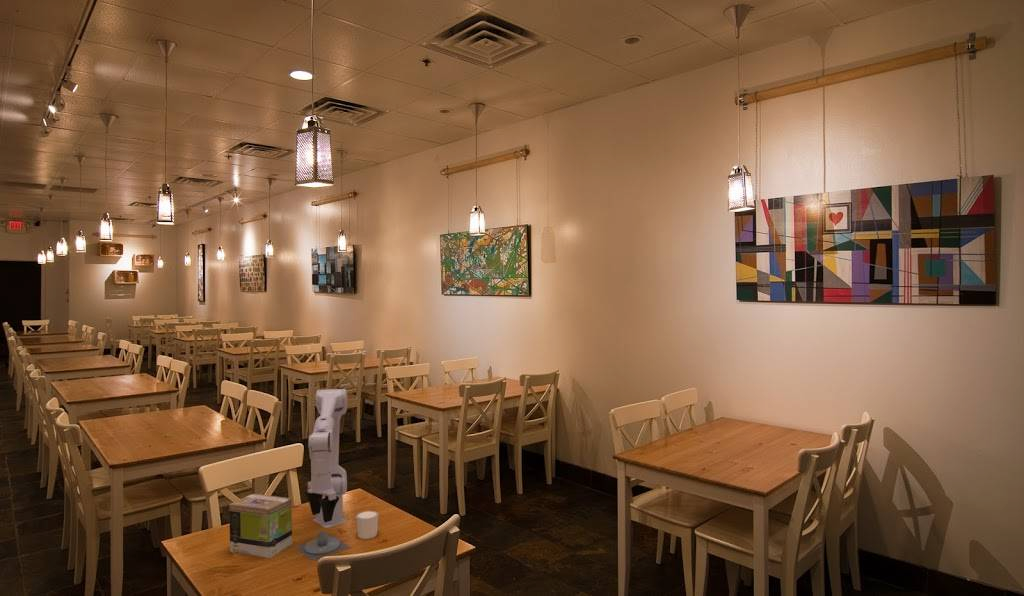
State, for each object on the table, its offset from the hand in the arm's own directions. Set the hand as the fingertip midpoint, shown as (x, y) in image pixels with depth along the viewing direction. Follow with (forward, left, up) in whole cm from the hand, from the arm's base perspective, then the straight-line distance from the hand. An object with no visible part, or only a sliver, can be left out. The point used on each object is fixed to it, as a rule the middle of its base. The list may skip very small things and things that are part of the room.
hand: (321, 517), depth 172 cm
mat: (0, 0, -10) cm, 10 cm away
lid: (0, 0, -9) cm, 9 cm away
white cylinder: (+2, +14, -10) cm, 17 cm away
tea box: (-13, -13, -10) cm, 21 cm away
